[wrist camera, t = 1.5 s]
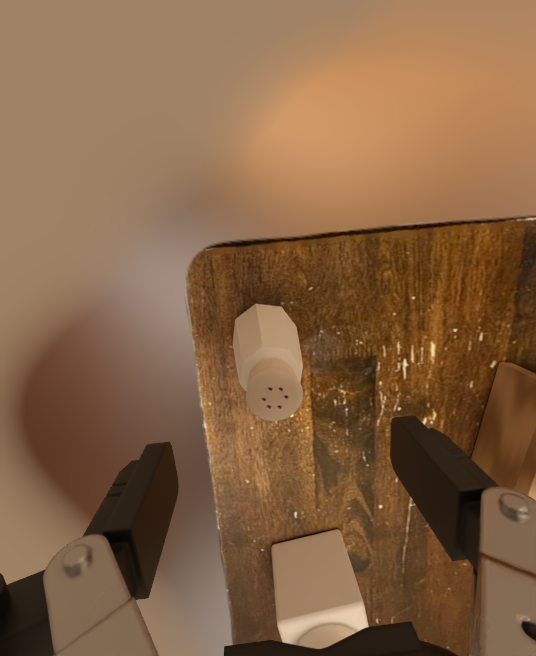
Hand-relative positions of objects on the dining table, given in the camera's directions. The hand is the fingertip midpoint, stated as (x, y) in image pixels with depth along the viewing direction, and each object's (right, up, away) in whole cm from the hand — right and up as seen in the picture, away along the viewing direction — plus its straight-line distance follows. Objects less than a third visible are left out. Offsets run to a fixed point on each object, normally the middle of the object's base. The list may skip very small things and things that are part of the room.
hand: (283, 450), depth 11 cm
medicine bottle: (+4, -20, +21) cm, 29 cm away
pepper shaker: (-1, +4, +15) cm, 15 cm away
